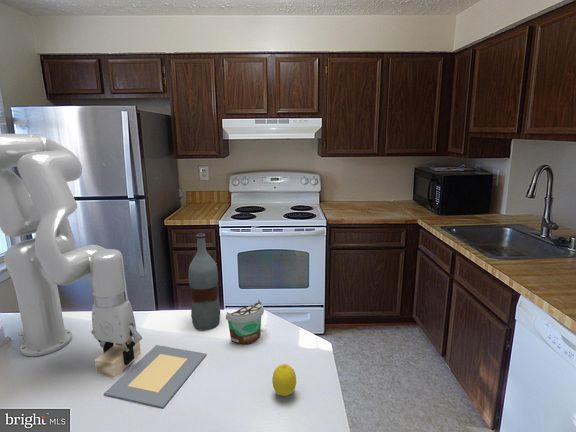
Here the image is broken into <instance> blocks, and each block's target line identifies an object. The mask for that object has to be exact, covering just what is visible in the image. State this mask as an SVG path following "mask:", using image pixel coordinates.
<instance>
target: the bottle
mask: <svg viewBox="0 0 576 432" xmlns="http://www.w3.org/2000/svg"><path fill="white" fill-rule="evenodd" d="M195 236H196V246H197V247H196V248H197V250H196V251H197V252H196V253H195V254H194V257H193V258H192V260H191V262H190V264H189V267H188V275H187V276H188V278H187V279H188V283H189V289H190V296H191V311H190V317H191V322H192V325H193V327H194V329H196V330H197V331H209V330H213V329H215V328H216V327H218V326H219V323H220V319H221V305H220V302H219V301H220V300H219V297H218V296H219V295H218V293H219V292H218V291H219V290H218V289H219V271H218V270H219V269H218V265H217V263H216V261H215V260H214V258H212V256H211V255H210V254H209V252H208V251H207V247H206V234H205V233H197V234H196V235H195Z"/></svg>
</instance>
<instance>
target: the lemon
mask: <svg viewBox="0 0 576 432" xmlns="http://www.w3.org/2000/svg"><path fill="white" fill-rule="evenodd" d="M271 382H272V387H273V389H274V391H275V392H276V393H277V395H279V396H282V397H287V396H289V395H291V394H293V392H294V391H295V389H296V385H297V375H296V372H295V370H294V368H293V367H292V366H291V365H288V364H284V363H283V364H282V363H281V364H279V365H278V366H277V367H275V369H274V371H273V374H272V381H271Z"/></svg>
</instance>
